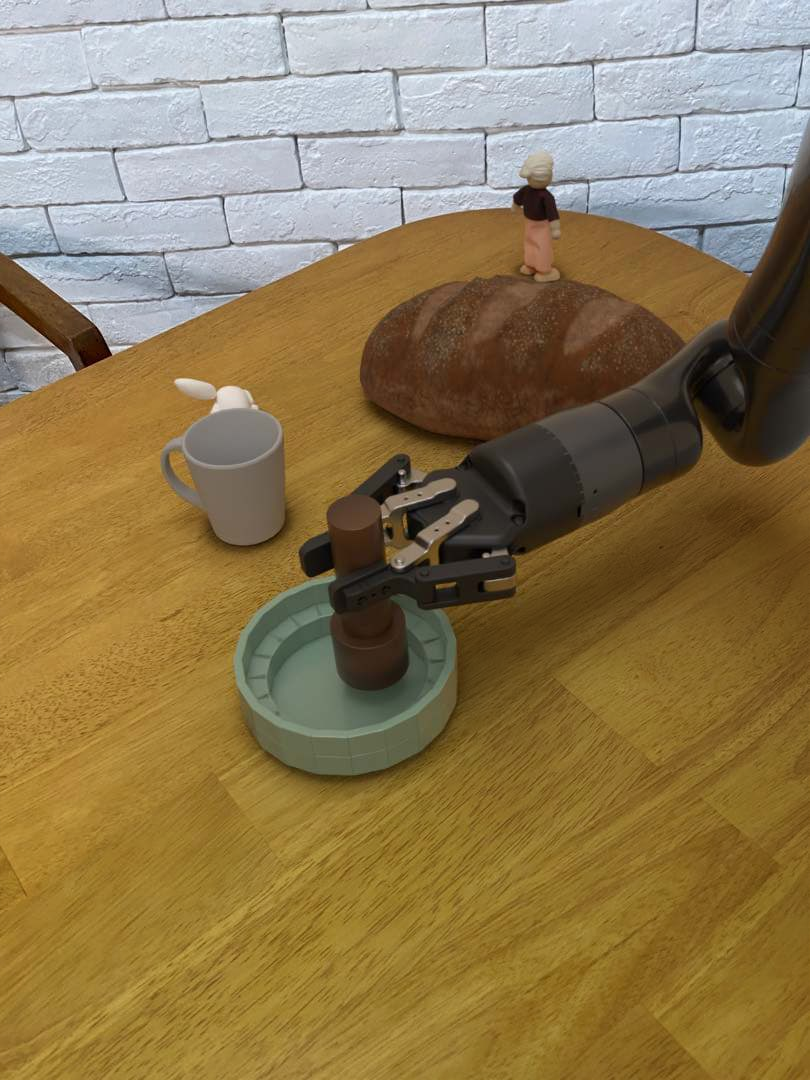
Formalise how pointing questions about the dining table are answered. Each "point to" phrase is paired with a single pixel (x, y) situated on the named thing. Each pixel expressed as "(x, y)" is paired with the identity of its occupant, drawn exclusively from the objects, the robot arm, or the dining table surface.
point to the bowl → (340, 687)
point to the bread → (508, 353)
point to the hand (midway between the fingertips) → (318, 581)
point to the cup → (234, 473)
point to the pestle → (377, 631)
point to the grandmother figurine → (538, 217)
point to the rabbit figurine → (216, 394)
